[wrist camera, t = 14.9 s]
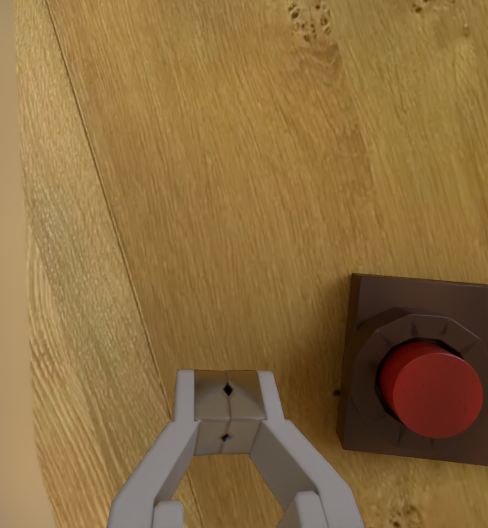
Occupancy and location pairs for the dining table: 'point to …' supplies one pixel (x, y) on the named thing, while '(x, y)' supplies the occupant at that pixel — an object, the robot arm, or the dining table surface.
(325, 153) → the dining table surface
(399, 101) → the dining table surface
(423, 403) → the button
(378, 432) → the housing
